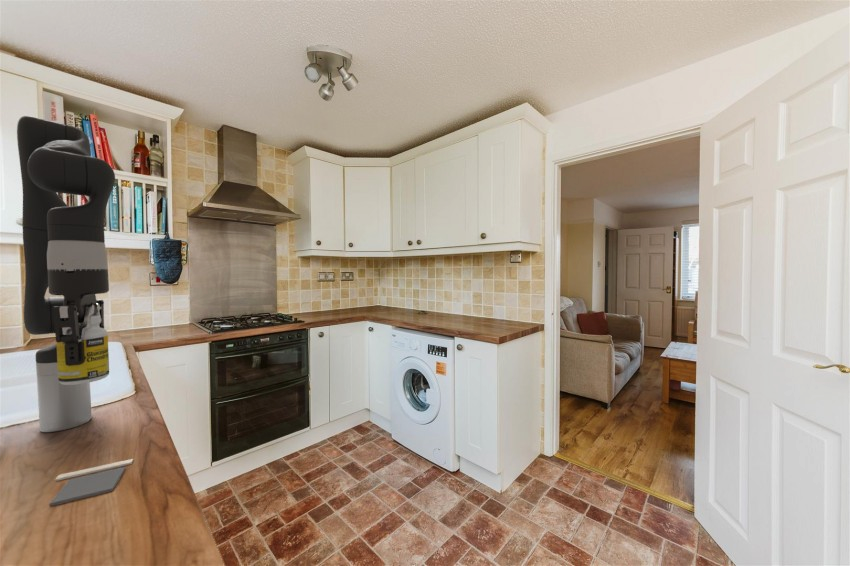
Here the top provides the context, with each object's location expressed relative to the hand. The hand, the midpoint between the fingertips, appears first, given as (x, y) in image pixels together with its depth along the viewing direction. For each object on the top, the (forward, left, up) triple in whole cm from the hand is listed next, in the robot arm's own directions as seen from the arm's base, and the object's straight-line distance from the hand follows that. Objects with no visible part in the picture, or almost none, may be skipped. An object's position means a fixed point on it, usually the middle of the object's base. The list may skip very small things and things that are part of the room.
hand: (83, 359), depth 61 cm
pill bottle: (0, 0, -4) cm, 4 cm away
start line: (-6, -1, -23) cm, 24 cm away
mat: (0, 0, -23) cm, 23 cm away
